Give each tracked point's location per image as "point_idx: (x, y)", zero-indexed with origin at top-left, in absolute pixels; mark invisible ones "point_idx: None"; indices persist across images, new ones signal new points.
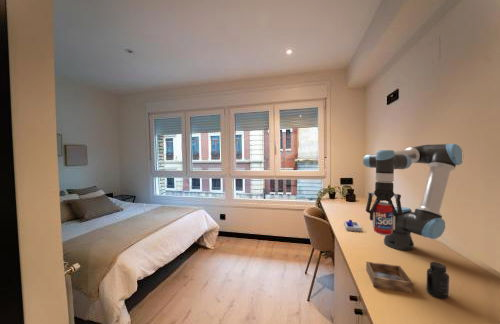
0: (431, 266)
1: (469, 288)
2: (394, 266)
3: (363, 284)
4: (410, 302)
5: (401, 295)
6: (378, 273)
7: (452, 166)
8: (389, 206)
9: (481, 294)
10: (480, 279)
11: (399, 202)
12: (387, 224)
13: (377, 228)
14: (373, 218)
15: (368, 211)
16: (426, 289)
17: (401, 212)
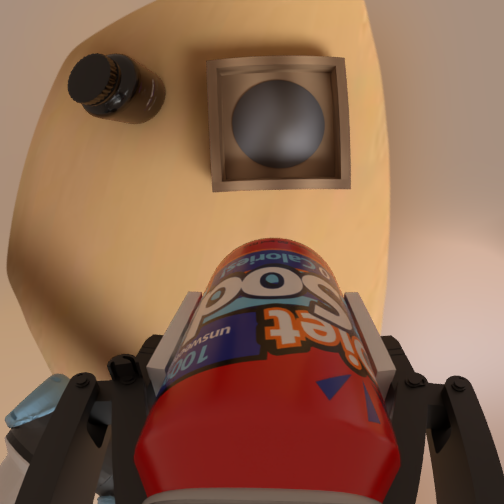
0: (114, 69)
1: (54, 176)
2: (236, 181)
3: (367, 76)
4: (239, 20)
5: (255, 45)
6: (305, 149)
7: None
8: (181, 467)
9: (43, 155)
10: (26, 242)
11: (28, 497)
12: (251, 271)
13: (330, 273)
14: (379, 340)
15: (456, 384)
16: (164, 97)
17: (69, 393)
